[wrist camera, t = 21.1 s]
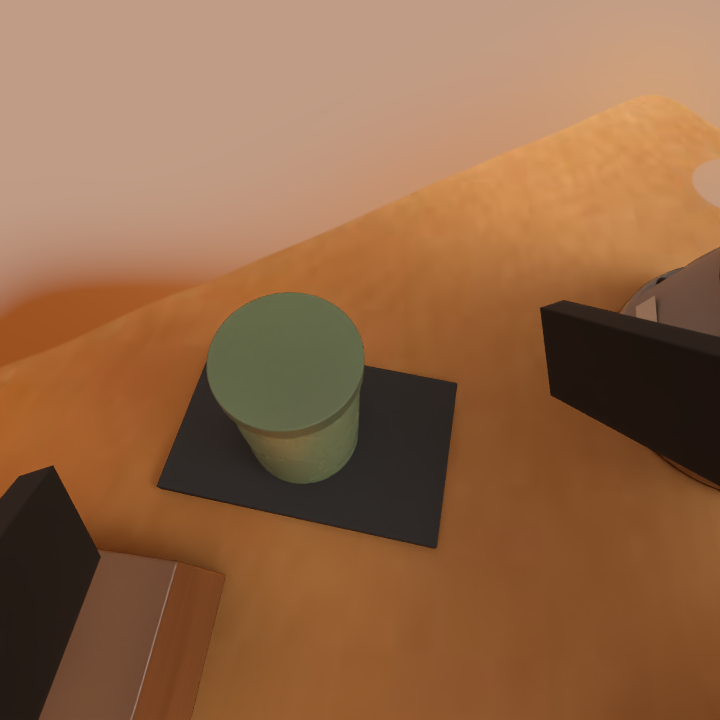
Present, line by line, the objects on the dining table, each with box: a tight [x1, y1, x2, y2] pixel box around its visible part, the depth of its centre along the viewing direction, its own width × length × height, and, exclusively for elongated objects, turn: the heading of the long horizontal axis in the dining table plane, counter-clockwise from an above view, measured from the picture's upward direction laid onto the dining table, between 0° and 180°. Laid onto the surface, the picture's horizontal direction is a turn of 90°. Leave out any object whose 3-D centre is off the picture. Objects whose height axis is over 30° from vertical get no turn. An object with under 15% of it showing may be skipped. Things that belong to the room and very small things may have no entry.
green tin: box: [207, 292, 364, 484], centre depth 25 cm, size 7×7×10 cm
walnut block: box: [39, 549, 225, 720], centre depth 20 cm, size 10×10×8 cm
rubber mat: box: [157, 361, 457, 549], centre depth 29 cm, size 16×10×1 cm, turn 78°
